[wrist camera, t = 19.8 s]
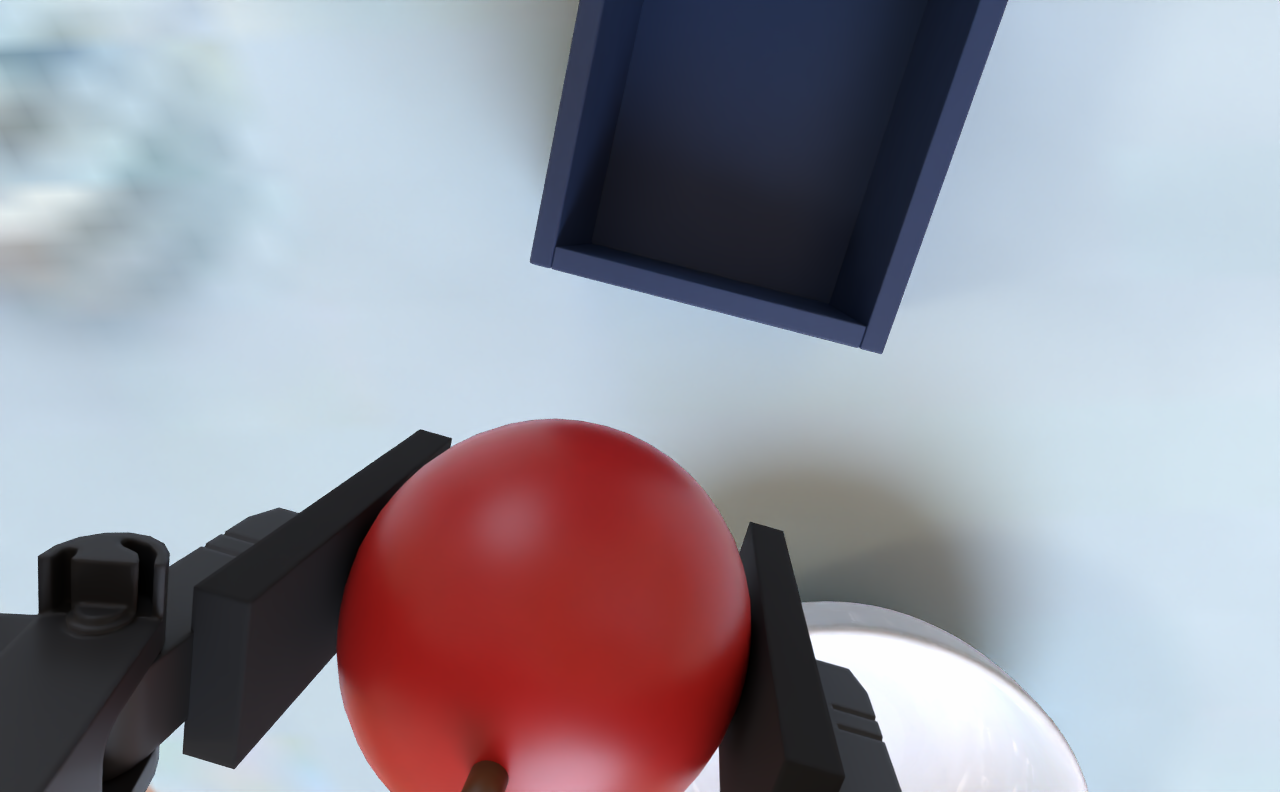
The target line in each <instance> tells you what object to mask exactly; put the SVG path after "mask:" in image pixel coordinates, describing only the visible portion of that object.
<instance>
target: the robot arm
mask: <svg viewBox="0 0 1280 792" xmlns="http://www.w3.org/2000/svg"><path fill="white" fill-rule="evenodd" d="M451 441H452V438H449V437H446V436H442V435H438V434H435V433H431V432H428V431H424V430H421V429H420V430H419V431H417V432H416V433H414V434H413V435H411V436H410V437H408V438H407V439H406V440H404V441H403V442H401V443H400V444H398V445H397V446H395V447H394V448H393V449H391V450H390V451H388V452H387V453H385V454H384V455H382V456H381V457H380V458H378V459H377V460H375V461H374V462H372V463H371V464H370V465H368V466H367V467H365V468H364V469H362V470H361V471H359V472H358V473H357V474H355V475H354V476H352V477H351V478H349V479H348V480H346V481H345V482H344V483H342V484H341V485H339V486H338V487H336V488H335V489H333V490H332V491H331V492H329V493H328V494H326V495H325V496H323V497H322V498H320V499H319V500H318V501H316V502H315V503H313V504H312V505H310V506H309V507H307V508H306V509H305V510H303V511H302V512H300V513H296V512H293V511H289V510H286V509H282V508H276V509H273V510H270V511H266V512H263V513H260V514H257V515H253V516H250V517H248V518H246V519H245V520H243V521H241V522H240V523H238V524H237V525H235V526H233V527H232V528H230V529H229V530H227V531H226V532H225V534H224V535H222V534H221V535H219V536H217V537H216V538H214V539H213V540H211V541H209V542H208V543H206V546H205V547H200V548H198V549H197V550H195V551H193V552H192V553H190V554H189V555H187V556H185V557H184V558H182V559H181V560H179V561H177V562H176V563H174V564H173V565H171V566H169V556H170V553H169V551H168V550H167V548H166V546H165V544H164V543H162V542H160V541H158V540H156V539H154V538H153V537H151V536H146V535H140V534H135V533H101V534H95V535H89V536H83V537H78V538H75V539H72V540H69V541H67V542H64V543H61V544H58V545H55V546H54V547H52V548H50V549H49V550H47V551H46V552H44V553H42V554H41V555H39V556H38V598H39V613H38V615H24V614H3V613H0V792H145V791H146V790H147V788H148V786H149V784H150V782H151V780H152V778H153V776H154V774H155V771H156V767H157V764H158V760H159V745H160V744H161V743H162V742H163V741H164V740H165V739H166V738H167V737H169V736H170V735H171V734H172V733H173V732H174V731H175V730H176V729H177V728H178V727H179V726H180V725H181V724H182V723H183V722H184V721H185V725H184V741H183V754H185V755H189V756H192V757H195V758H199V759H202V760H205V761H209V762H212V763H215V764H219V765H222V766H225V767H229V768H232V769H235V768H236V767H237V766H238V764H239V763H240V762H241V761H242V760H243V759H244V758H245V756H246V755H247V754H248V753H249V752H250V751H251V750H252V748H253V747H254V746H255V745H256V744H257V743H258V742H259V740H260V739H261V738H262V737H263V736H264V735H265V734H266V732H267V731H268V730H269V729H270V728H271V727H272V726H273V724H274V723H275V722H276V721H277V720H278V719H279V718H280V716H281V715H282V714H283V713H284V712H285V711H286V710H287V708H288V707H289V706H290V705H291V704H292V703H293V702H294V701H295V699H296V698H297V697H298V696H299V695H300V694H301V693H302V691H303V690H304V689H305V688H306V687H307V686H308V685H309V683H310V682H311V681H312V680H313V679H314V678H315V677H316V675H317V674H318V673H319V672H320V671H321V670H322V669H323V667H324V666H325V665H326V664H327V663H328V662H329V661H330V659H331V658H332V657H333V656H334V655H335V654H336V653H337V650H336V646H337V631H338V621H339V613H340V606H341V602H342V597H343V593H344V588H345V584H346V582H347V579H348V576H349V573H350V570H351V567H352V565H353V562H354V560H355V557H356V554H357V552H358V549H359V547H360V545H361V543H362V542H363V540H364V538H365V536H366V535H367V533H368V531H369V530H370V528H371V526H372V525H373V523H374V521H375V520H376V518H377V516H378V515H379V513H380V511H381V510H382V509H383V508H384V506H385V505H386V504H387V503H388V502H389V500H390V499H391V498H392V497H393V495H394V494H395V493H396V492H397V491H398V490H399V489H400V488H401V487H402V486H403V484H404V483H405V482H406V481H407V480H409V479H410V478H411V477H412V476H413V475H414V474H415V473H416V472H417V471H418V470H419V469H421V468H422V467H423V466H424V465H425V464H427V463H428V462H430V461H431V460H433V459H434V458H436V457H437V456H439V455H440V454H442V453H443V452H445V451H446V450H448V449H449V448H450V446H451ZM739 555H740V557H741V560H742V563H743V567H744V571H745V575H746V580H747V585H748V591H749V596H750V604H751V648H750V657H749V665H748V669H747V674H746V679H745V683H744V687H743V690H742V694H741V698H740V701H739V704H738V707H737V709H736V711H735V713H734V716H733V718H732V720H731V722H730V725H729V727H728V729H727V731H726V734H725V736H724V738H723V740H722V742H721V744H720V745H719V780H720V792H902V790H901V788H900V785H899V782H898V779H897V776H896V773H895V770H894V767H893V765H892V762H891V759H890V756H889V753H888V750H887V747H886V744H885V742H883V741H882V739H883V736H882V733H881V730H880V727H879V724H878V722H877V721H875V718H876V716H875V713H874V710H873V707H872V704H871V701H870V699H869V696H868V693H867V691H866V690H865V689H864V688H863V686H862V685H861V684H860V682H859V681H858V680H857V679H856V677H855V676H854V675H853V673H852V672H851V671H850V670H849V669H848V668H844V667H841V666H837V665H834V664H830V663H827V662H823V661H820V660H816V659H815V655H814V651H813V647H812V643H811V639H810V635H809V631H808V627H807V623H806V620H805V616H804V612H803V608H802V604H801V600H800V596H799V592H798V588H797V584H796V580H795V576H794V572H793V568H792V564H791V561H790V557H789V553H788V549H787V545H786V541H785V537H784V533H783V531H781V530H777V529H774V528H770V527H767V526H763V525H759V524H756V523H752V522H750V524H749V527H748V530H747V532H746V535H745V538H744V541H743V544H742V547H741V550H740V553H739Z"/></svg>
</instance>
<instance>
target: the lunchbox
mask: <svg viewBox="0 0 1280 792" xmlns="http://www.w3.org/2000/svg"><path fill="white" fill-rule="evenodd" d="M1007 2H1008V0H580V2H579V7H578V12H577V18H576V23H575V28H574V33H573V38H572V44H571V49H570V54H569V59H568V65H567V70H566V75H565V80H564V85H563V91H562V96H561V101H560V106H559V111H558V117H557V122H556V127H555V132H554V138H553V143H552V148H551V153H550V158H549V164H548V169H547V174H546V179H545V184H544V190H543V195H542V200H541V205H540V211H539V216H538V221H537V226H536V231H535V237H534V242H533V247H532V252H531V257H530V263H532V264H535V265H539V266H542V267H546V268H552V269H554V270H558V271H561V272H565V273H569V274H573V275H577V276H581V277H585V278H589V279H592V280H596V281H600V282H604V283H608V284H612V285H616V286H620V287H623V288H627V289H631V290H635V291H639V292H643V293H647V294H651V295H654V296H658V297H662V298H666V299H670V300H674V301H678V302H682V303H685V304H689V305H693V306H697V307H701V308H705V309H709V310H713V311H716V312H720V313H724V314H728V315H732V316H736V317H740V318H744V319H747V320H751V321H755V322H759V323H763V324H767V325H771V326H775V327H778V328H782V329H786V330H790V331H794V332H798V333H802V334H806V335H809V336H813V337H817V338H821V339H825V340H829V341H833V342H837V343H840V344H844V345H848V346H852V347H856V348H860V349H864V350H867V351H871V352H875V353H879V354H882V353H883V350H884V347H885V344H886V342H887V339H888V336H889V333H890V330H891V328H892V325H893V322H894V319H895V316H896V314H897V311H898V308H899V305H900V302H901V300H902V297H903V294H904V291H905V288H906V286H907V283H908V280H909V277H910V274H911V271H912V269H913V266H914V263H915V260H916V257H917V255H918V252H919V249H920V246H921V243H922V241H923V238H924V235H925V232H926V229H927V227H928V224H929V221H930V218H931V215H932V213H933V210H934V207H935V204H936V201H937V198H938V196H939V193H940V190H941V187H942V184H943V182H944V179H945V176H946V173H947V170H948V168H949V165H950V162H951V159H952V156H953V154H954V151H955V148H956V145H957V142H958V140H959V137H960V134H961V131H962V128H963V125H964V123H965V120H966V117H967V114H968V111H969V109H970V106H971V103H972V100H973V97H974V95H975V92H976V89H977V86H978V83H979V81H980V78H981V75H982V72H983V69H984V67H985V64H986V61H987V58H988V55H989V52H990V50H991V47H992V44H993V41H994V38H995V36H996V33H997V30H998V27H999V24H1000V22H1001V19H1002V16H1003V13H1004V10H1005V8H1006V5H1007Z"/></svg>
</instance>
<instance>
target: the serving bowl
mask: <svg viewBox="0 0 1280 792" xmlns="http://www.w3.org/2000/svg"><path fill="white" fill-rule="evenodd" d="M801 604H802V608H803V612H804V616H805V620H806V623H807V627H808V631H809V635H810V639H811V643H812V647H813V651H814V655H815V659H816V660H820V661H823V662H827V663H830V664H834V665H837V666H841V667H844V668H848V669H849V670H850V671H851V672H852V673H853V675H854V676H855V677H856V679H857V680H858V681H859V682H860V684H861V685H862V686H863V688H864V689H865V690H866V691H867V693H868V696H869V699H870V701H871V704H872V707H873V710H874V713H875V716H876V718H875V721H877V722H878V724H879V727H880V730H881V733H882V736H883V739H882V741H883V742H885V744H886V747H887V750H888V753H889V756H890V759H891V762H892V765H893V767H894V770H895V773H896V776H897V779H898V782H899V785H900V788H901V790H902V792H1088V789H1087V785H1086V782H1085V779H1084V776H1083V773H1082V771H1081V768H1080V766H1079V764H1078V762H1077V759H1076V757H1075V755H1074V753H1073V751H1072V749H1071V748H1070V746H1069V744H1068V742H1067V741H1066V739H1065V737H1064V736H1063V734H1062V733H1061V732H1060V730H1059V729H1058V727H1057V726H1056V725H1055V723H1054V722H1053V720H1052V719H1051V718H1050V717H1049V716H1048V715H1047V714H1046V712H1045V711H1044V710H1043V709H1042V708H1041V707H1040V706H1039V704H1038V703H1037V702H1036V701H1035V700H1034V699H1033V698H1032V697H1031V696H1030V695H1029V694H1028V693H1027V692H1026V691H1025V690H1024V689H1023V688H1022V687H1021V686H1020V685H1019V684H1018V683H1017V682H1016V681H1015V680H1013V679H1012V678H1011V677H1010V676H1009V675H1008V674H1007V673H1006V672H1004V671H1003V670H1002V669H1001V668H1000V667H998V666H997V665H996V664H995V663H993V662H992V661H991V660H990V659H988V658H987V657H986V656H985V655H983V654H982V653H980V652H979V651H978V650H976V649H975V648H973V647H972V646H970V645H969V644H967V643H966V642H964V641H962V640H961V639H959V638H957V637H956V636H954V635H952V634H950V633H948V632H946V631H944V630H943V629H941V628H938V627H936V626H934V625H932V624H929V623H927V622H925V621H923V620H920V619H918V618H915V617H912V616H910V615H907V614H904V613H900V612H897V611H894V610H890V609H886V608H882V607H877V606H872V605H866V604H860V603H852V602H832V601H820V602H802V603H801ZM684 792H720V780H719V747H718V748H717V750H716V751H715V753H714V754H713V756H712V757H711V759H710V760H709V762H708V763H707V765H706V766H705V767H704V769H703V770H702V771H701V773H700V774H699V776H698V777H697V778H696V779H695V780H694V781H693V782H692V783H691V784H690V786H689V787H688V788H687V789H686V790H685V791H684Z"/></svg>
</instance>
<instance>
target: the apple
mask: <svg viewBox="0 0 1280 792" xmlns="http://www.w3.org/2000/svg"><path fill="white" fill-rule="evenodd" d="M750 648H751V604H750V596H749V591H748V585H747V580H746V575H745V571H744V567H743V563H742V560H741V557H740V555H739V552H738V549H737V546H736V543H735V540H734V538H733V536H732V534H731V533H730V531H729V529H728V527H727V525H726V523H725V521H724V519H723V517H722V515H721V514H720V512H719V510H718V509H717V507H716V506H715V505H714V503H713V502H712V500H711V499H710V497H709V496H708V494H707V493H706V492H705V490H704V489H703V488H702V487H701V486H700V485H699V484H698V483H697V482H696V481H695V479H694V478H693V477H692V476H691V475H690V474H689V473H688V472H687V471H685V470H684V469H683V468H682V467H681V466H680V465H678V464H677V463H676V462H675V461H674V460H673V459H671V458H670V457H668V456H667V455H665V454H664V453H662V452H661V451H659V450H658V449H656V448H655V447H653V446H652V445H650V444H648V443H646V442H644V441H642V440H640V439H638V438H636V437H634V436H632V435H630V434H628V433H625V432H622V431H619V430H616V429H613V428H610V427H608V426H603V425H599V424H594V423H589V422H584V421H577V420H565V419H541V420H529V421H523V422H518V423H512V424H508V425H504V426H501V427H498V428H495V429H492V430H489V431H486V432H482V433H479V434H476V435H474V436H472V437H470V438H468V439H466V440H464V441H462V442H460V443H458V444H456V445H454V446H452V447H451V448H449V449H448V450H446V451H445V452H443V453H442V454H440V455H439V456H437V457H436V458H434V459H433V460H431V461H430V462H428V463H427V464H425V465H424V466H423V467H422V468H421V469H419V470H418V471H417V472H416V473H415V474H414V475H413V476H412V477H411V478H410V479H409V480H407V481H406V482H405V483H404V484H403V486H402V487H401V488H400V489H399V490H398V491H397V492H396V493H395V494H394V495H393V497H392V498H391V499H390V500H389V502H388V503H387V504H386V505H385V506H384V508H383V509H382V510H381V511H380V513H379V515H378V516H377V518H376V520H375V521H374V523H373V525H372V526H371V528H370V530H369V531H368V533H367V535H366V536H365V538H364V540H363V542H362V543H361V545H360V547H359V549H358V552H357V554H356V557H355V560H354V562H353V565H352V567H351V570H350V573H349V576H348V579H347V582H346V584H345V588H344V593H343V597H342V602H341V606H340V613H339V621H338V631H337V646H336V650H337V662H338V674H339V683H340V690H341V695H342V699H343V704H344V708H345V711H346V714H347V716H348V719H349V722H350V724H351V727H352V730H353V732H354V735H355V738H356V740H357V743H358V745H359V747H360V749H361V751H362V752H363V754H364V756H365V758H366V760H367V762H368V763H369V765H370V766H371V767H372V769H373V770H374V772H375V773H376V775H377V776H378V778H379V779H380V780H381V781H382V782H383V783H384V785H385V786H386V787H387V788H388V789H389V790H390V792H684V791H685V790H686V789H687V788H688V787H689V786H690V784H691V783H692V782H693V781H694V780H695V779H696V778H697V777H698V776H699V774H700V773H701V771H702V770H703V769H704V767H705V766H706V765H707V763H708V762H709V760H710V759H711V757H712V756H713V754H714V753H715V751H716V750H717V748H718V747H719V745H720V744H721V742H722V740H723V738H724V736H725V734H726V731H727V729H728V727H729V725H730V722H731V720H732V718H733V716H734V713H735V711H736V709H737V707H738V704H739V701H740V698H741V694H742V690H743V687H744V683H745V679H746V674H747V669H748V665H749V657H750Z"/></svg>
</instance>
